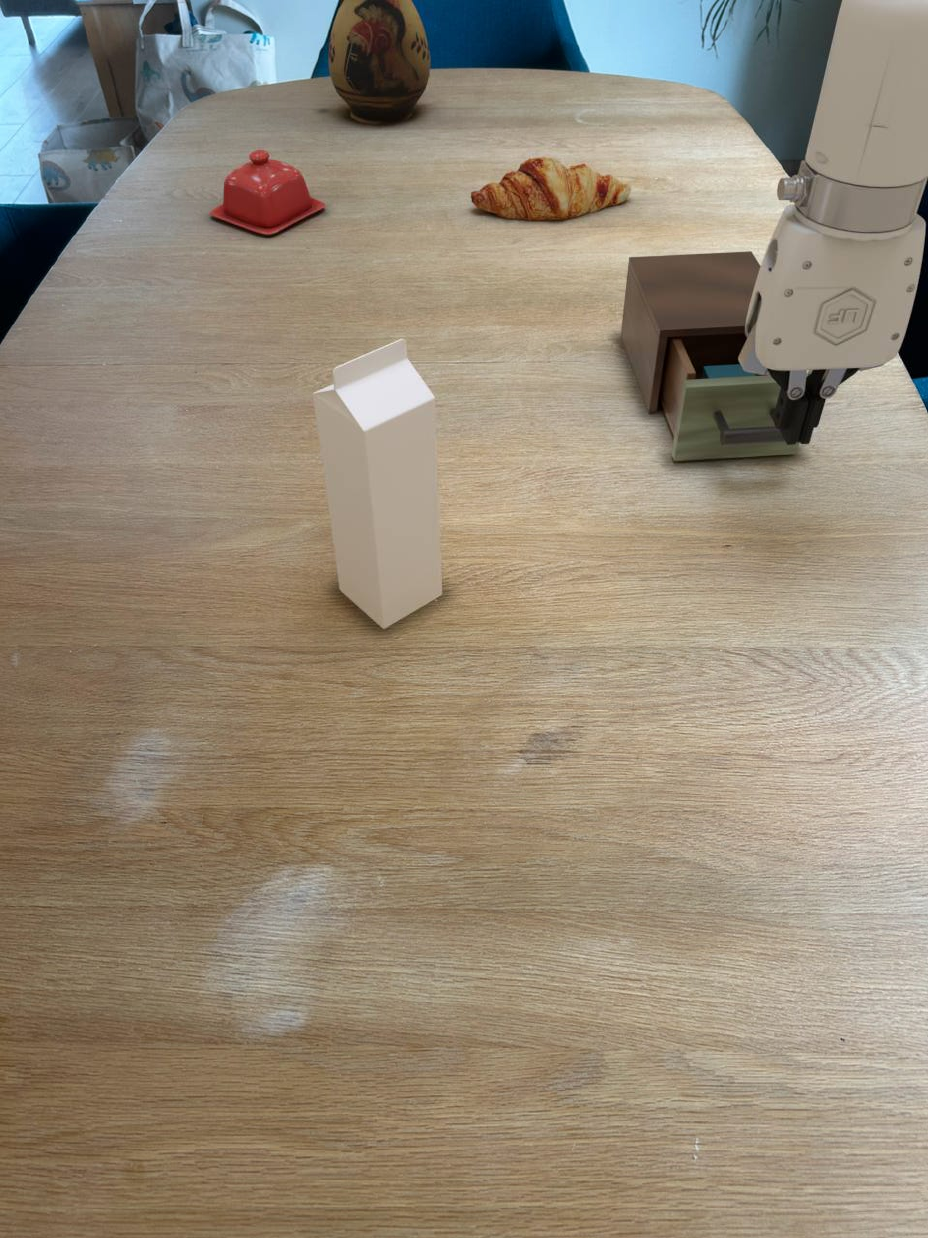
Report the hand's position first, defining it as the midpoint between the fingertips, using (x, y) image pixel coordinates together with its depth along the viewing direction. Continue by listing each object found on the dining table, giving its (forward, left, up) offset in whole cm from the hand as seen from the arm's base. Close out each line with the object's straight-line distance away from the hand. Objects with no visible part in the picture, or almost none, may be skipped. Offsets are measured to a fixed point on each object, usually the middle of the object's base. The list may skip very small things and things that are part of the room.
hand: (792, 433), depth 77 cm
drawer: (0, -15, -10) cm, 18 cm away
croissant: (+9, -67, -11) cm, 69 cm away
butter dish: (+46, -69, -11) cm, 84 cm away
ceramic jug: (+31, -105, -11) cm, 110 cm away
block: (0, -15, -9) cm, 18 cm away
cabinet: (0, -26, -11) cm, 28 cm away
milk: (+32, +4, -11) cm, 34 cm away
